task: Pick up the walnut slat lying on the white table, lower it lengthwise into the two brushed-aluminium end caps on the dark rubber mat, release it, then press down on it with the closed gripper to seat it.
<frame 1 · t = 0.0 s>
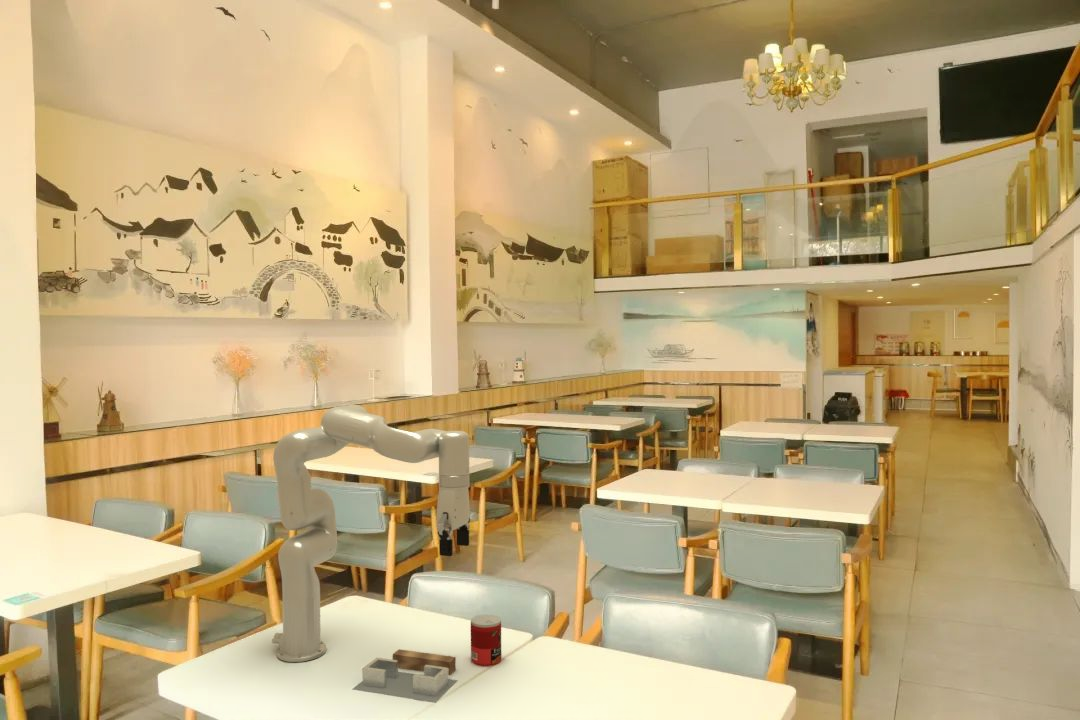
hand: (454, 550, 183), 31 cm above the table, tool pointing down, fingers open, 9 cm apart
mat: (405, 686, 178), on the table
canned food: (486, 662, 192), on the table
endcap 2: (438, 689, 175), resting on mat
slat: (423, 671, 187), on the table
endcap 1: (373, 679, 181), resting on mat
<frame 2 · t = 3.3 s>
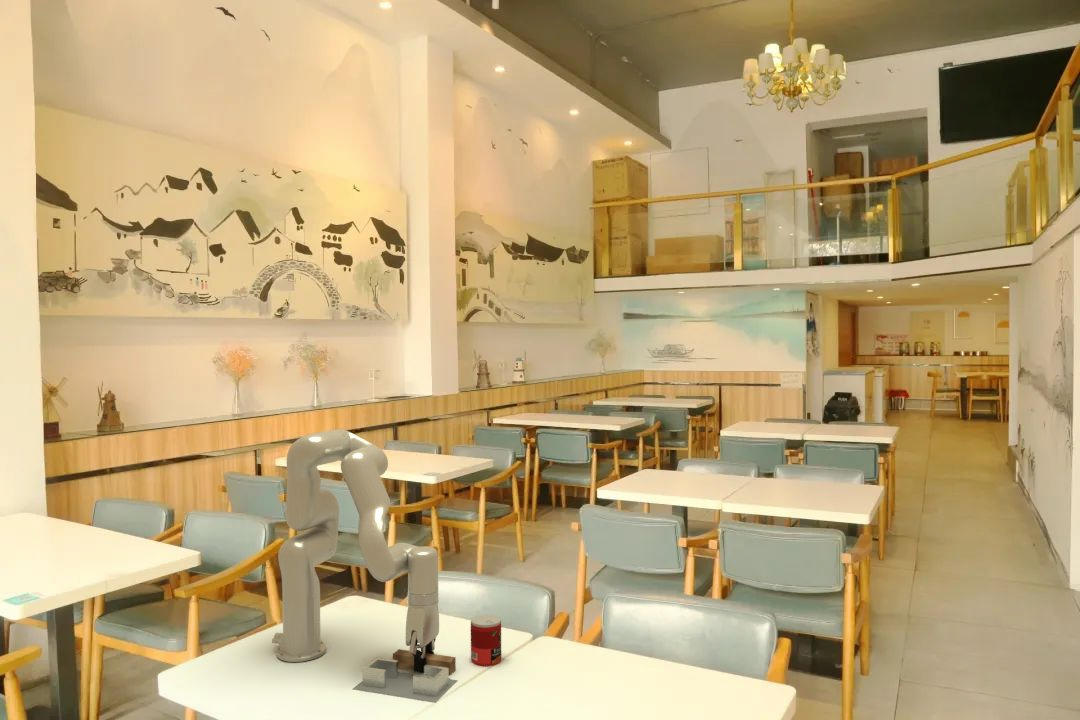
hand: (424, 669, 187), 0 cm above the table, tool pointing down, fingers open, 3 cm apart
slat: (423, 671, 187), on the table, touching gripper
everything else where it was.
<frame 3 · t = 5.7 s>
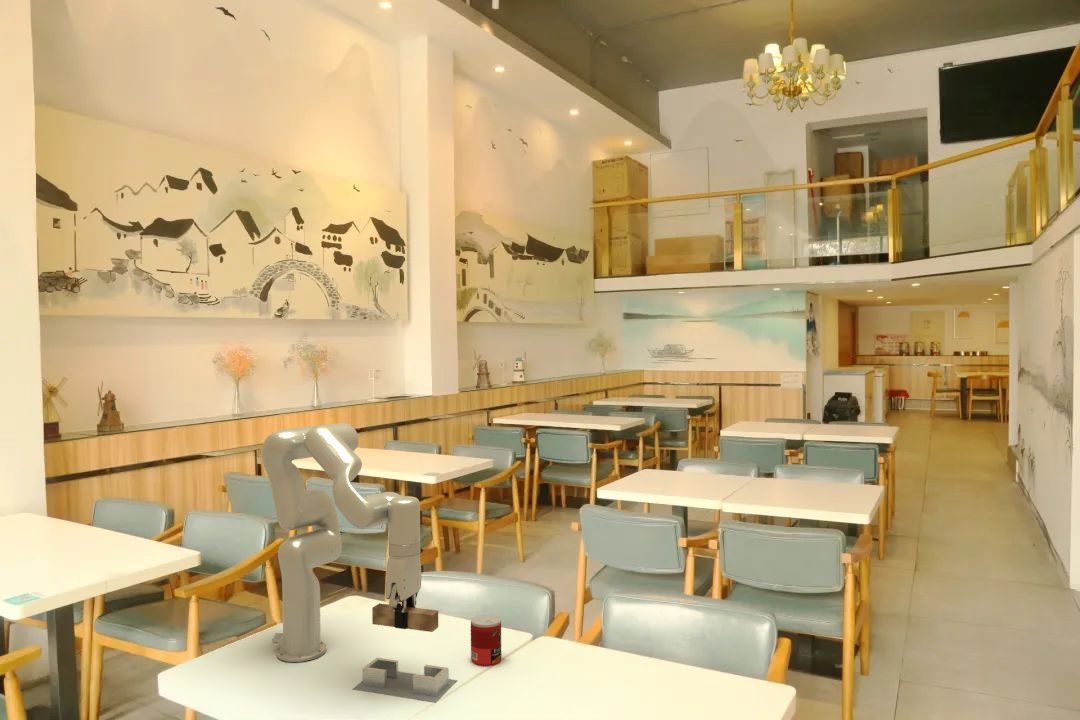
hand: (405, 624, 178), 15 cm above the table, tool pointing down, fingers closed on slat, 3 cm apart
slat: (405, 625, 178), point 15 cm above the table, touching gripper
everything else where it was.
when the fingers open (3 cm above the table, at t = 8.1 s): slat drops 2 cm, resting on mat.
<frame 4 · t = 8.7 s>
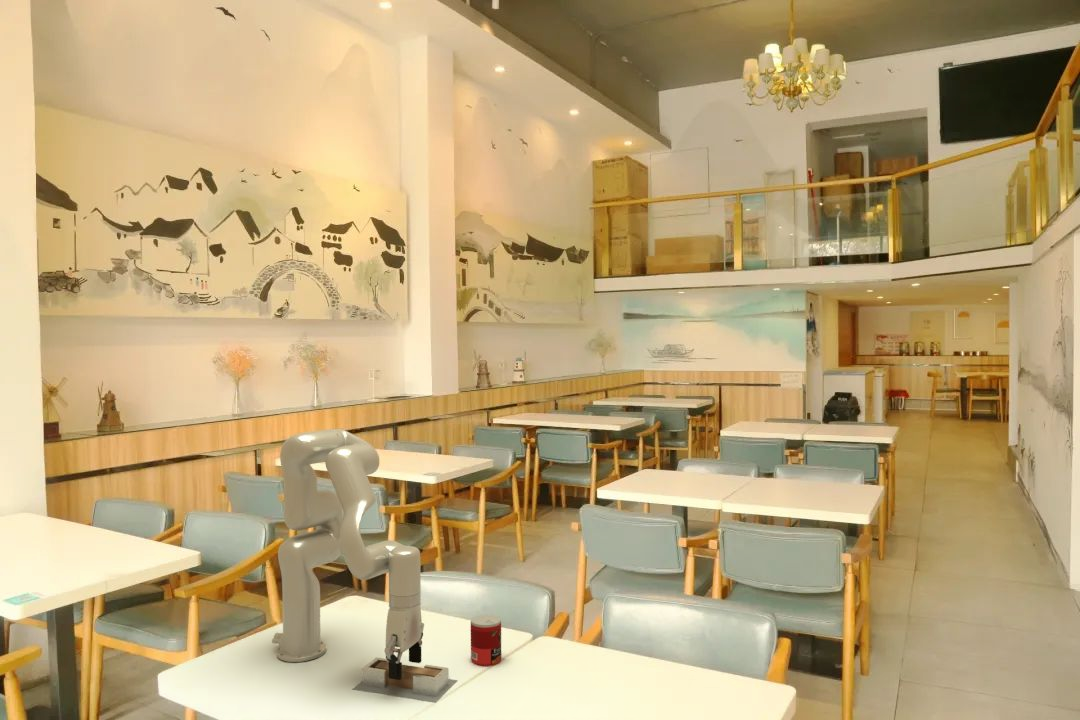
hand: (405, 670, 178), 4 cm above the table, tool pointing down, fingers open, 9 cm apart
slat: (407, 685, 178), resting on mat
everything else where it was.
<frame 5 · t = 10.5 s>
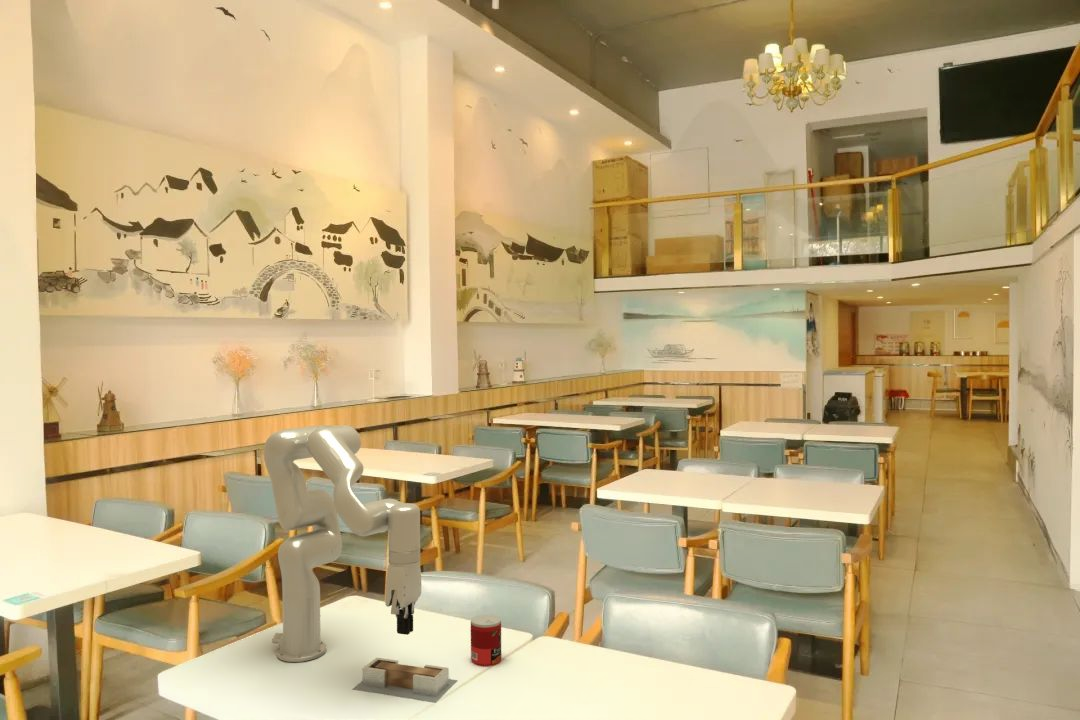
hand: (405, 632, 178), 13 cm above the table, tool pointing down, fingers closed
nothing on the table moved.
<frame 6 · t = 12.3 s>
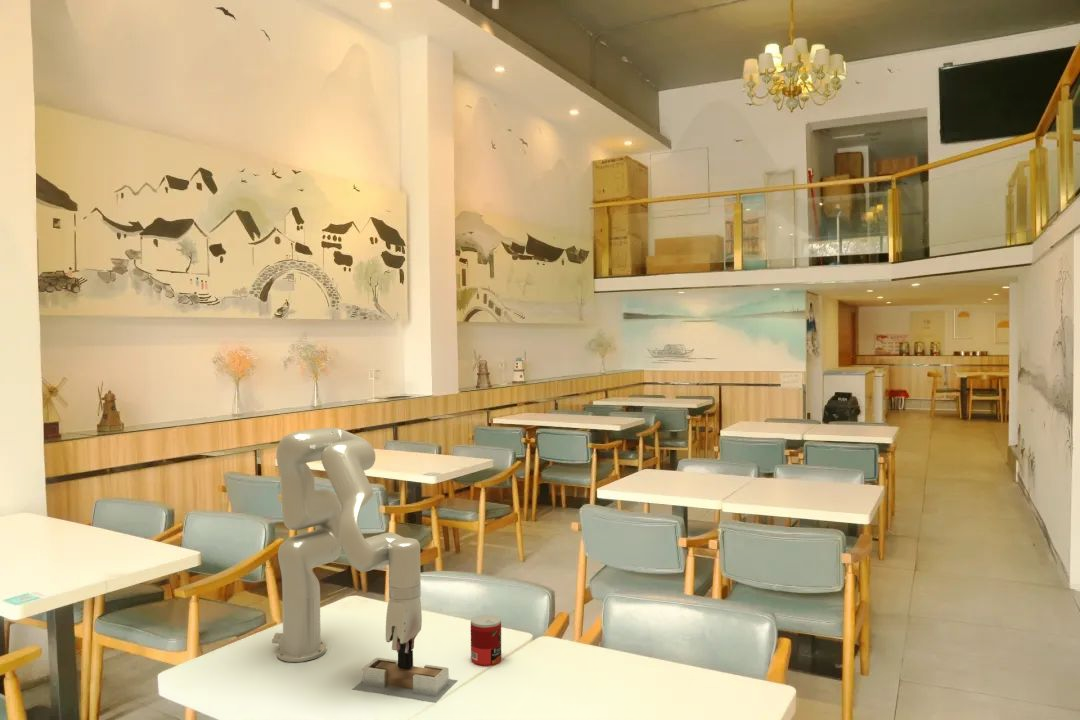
hand: (405, 667, 178), 5 cm above the table, tool pointing down, fingers closed
nothing on the table moved.
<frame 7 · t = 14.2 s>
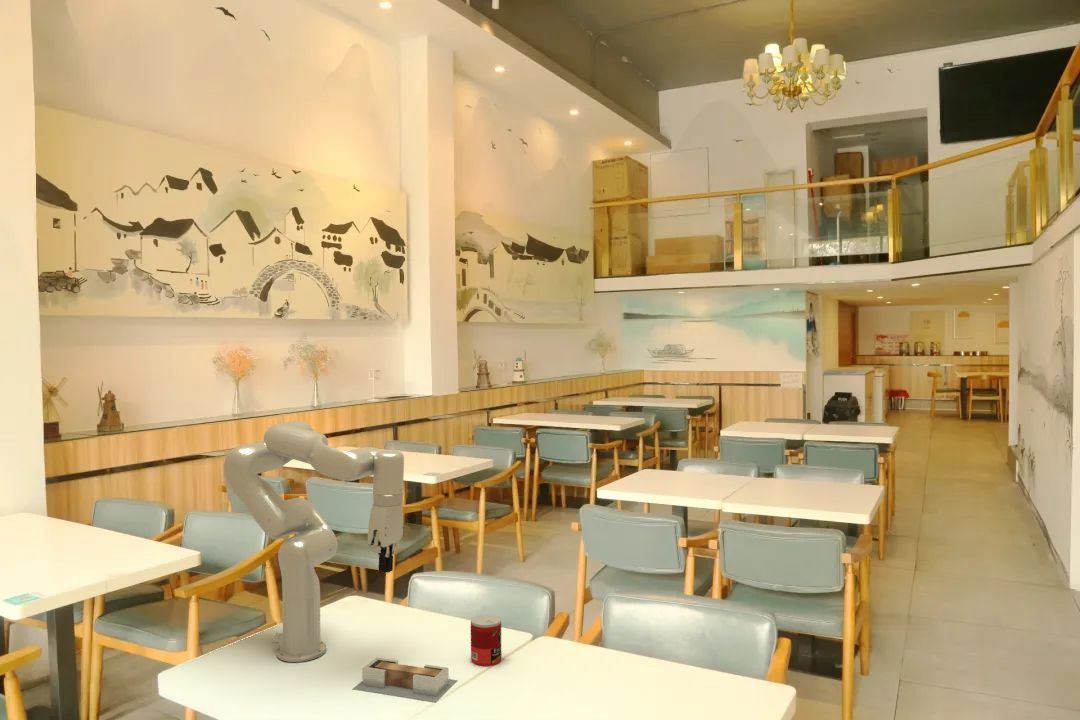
hand: (385, 570, 189), 24 cm above the table, tool pointing down, fingers closed
nothing on the table moved.
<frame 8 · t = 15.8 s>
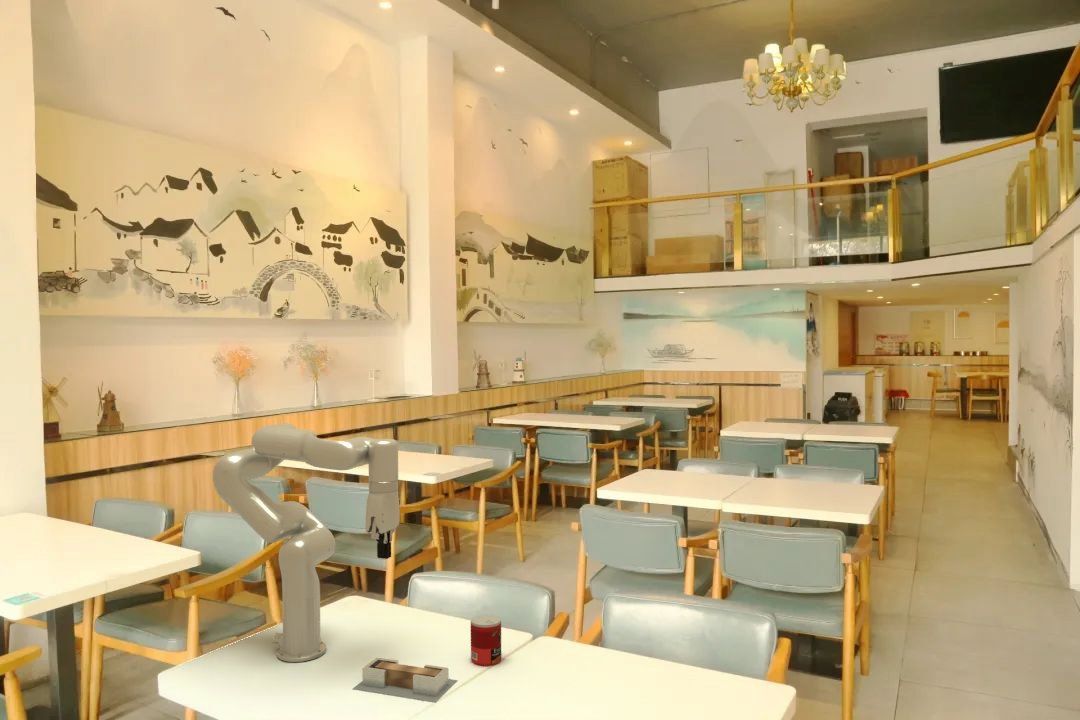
hand: (384, 557, 192), 27 cm above the table, tool pointing down, fingers closed
nothing on the table moved.
at the end: slat 0.6 cm off-centre on the mat, point 0.4 cm above the mat's base; slat tilted 0°; the gripper is holding nothing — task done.
